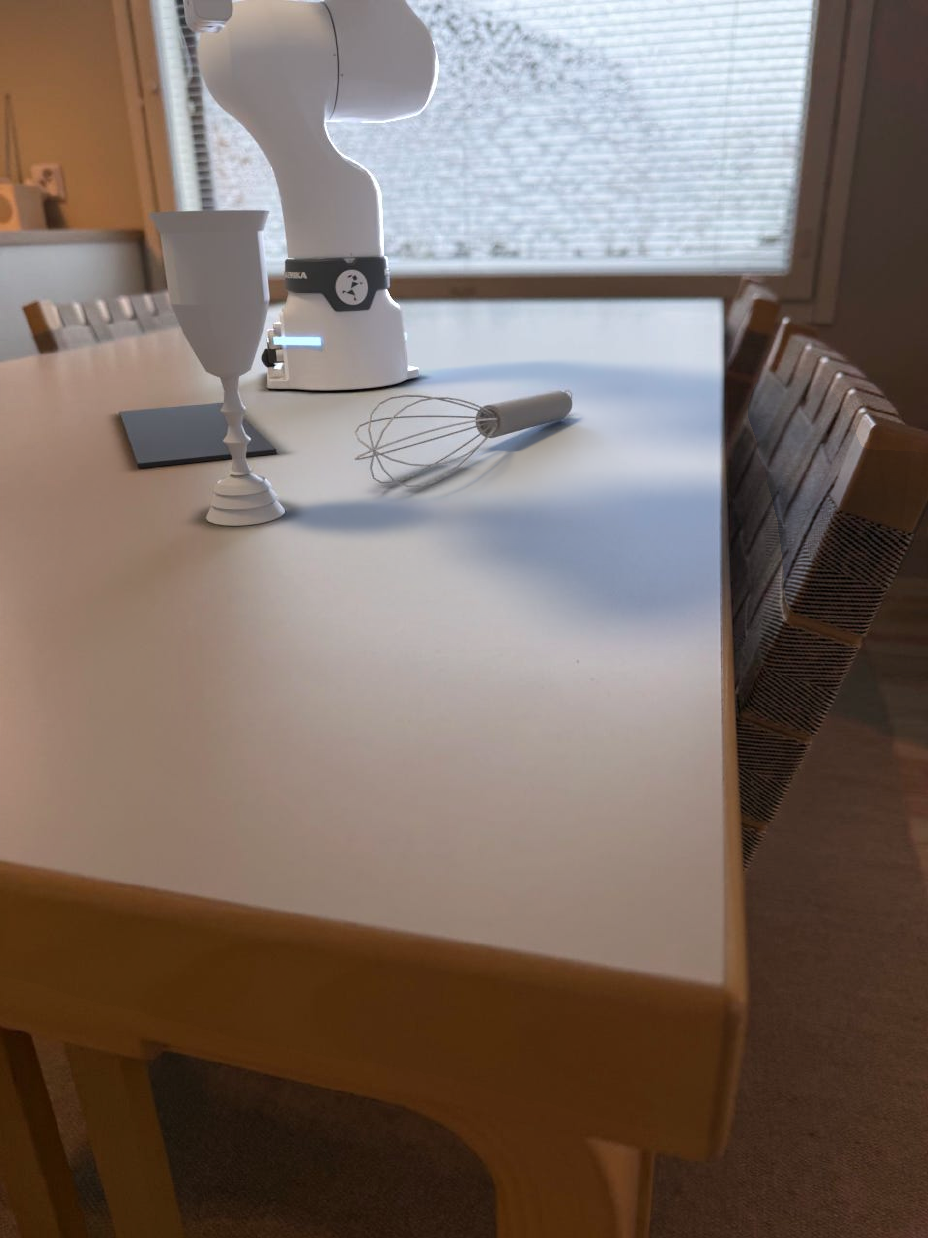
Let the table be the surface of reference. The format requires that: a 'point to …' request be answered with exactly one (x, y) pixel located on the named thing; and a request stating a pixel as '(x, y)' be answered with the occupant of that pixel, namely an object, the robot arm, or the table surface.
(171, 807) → the table surface
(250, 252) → the chalice
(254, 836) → the table surface
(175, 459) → the mat
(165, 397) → the table surface
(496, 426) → the kitchen whisk
